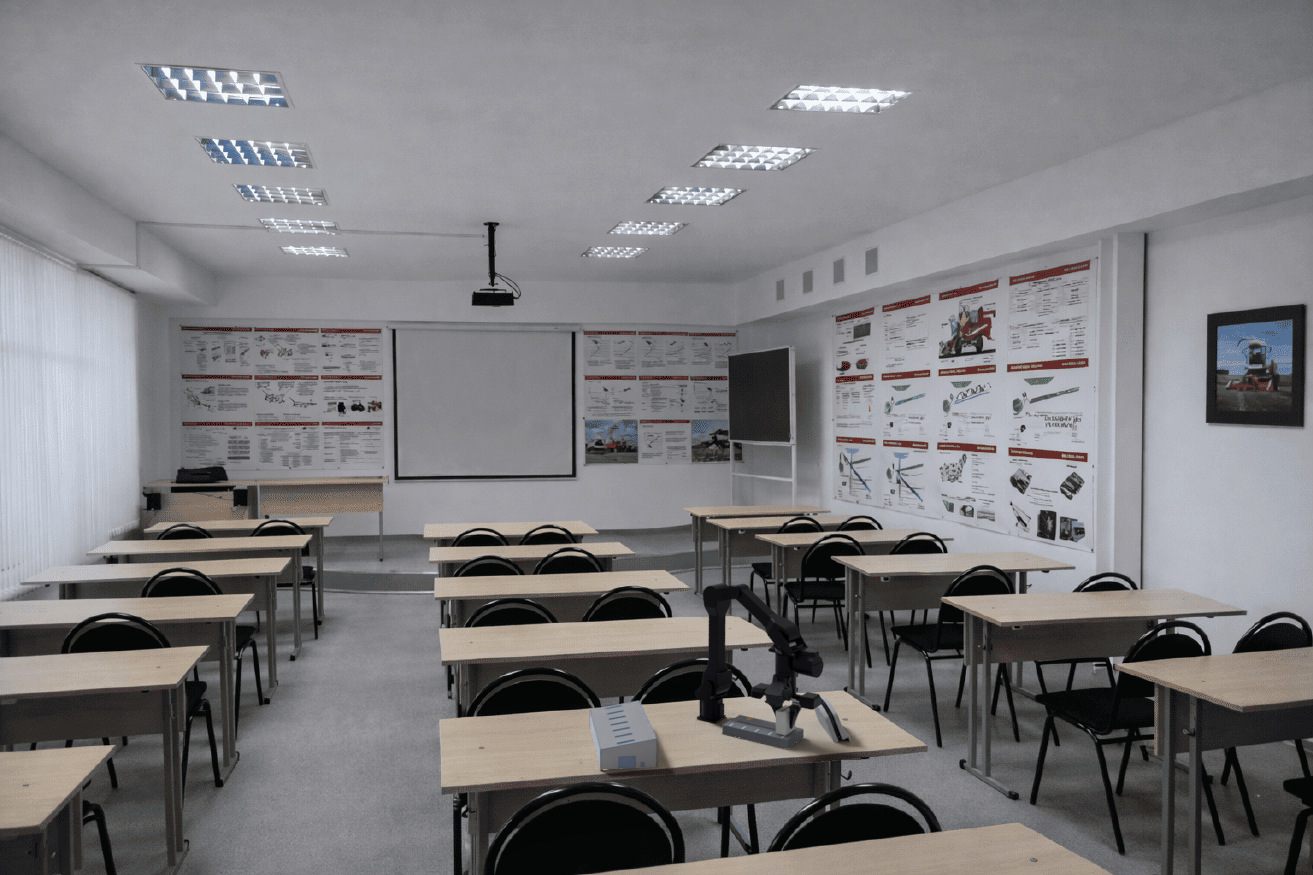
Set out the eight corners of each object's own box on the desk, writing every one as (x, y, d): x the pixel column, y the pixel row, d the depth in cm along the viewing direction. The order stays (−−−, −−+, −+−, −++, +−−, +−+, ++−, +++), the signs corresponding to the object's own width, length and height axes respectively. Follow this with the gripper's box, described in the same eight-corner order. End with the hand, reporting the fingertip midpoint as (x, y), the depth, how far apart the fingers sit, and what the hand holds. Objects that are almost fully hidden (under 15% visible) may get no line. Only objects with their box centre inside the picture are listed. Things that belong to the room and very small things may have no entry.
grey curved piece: (852, 741, 227) (840, 707, 226) (836, 748, 226) (824, 714, 226) (835, 720, 243) (823, 688, 243) (820, 726, 243) (808, 694, 243)
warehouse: (589, 729, 238) (589, 703, 237) (639, 726, 240) (639, 700, 240) (600, 772, 208) (600, 741, 208) (657, 768, 210) (657, 738, 210)
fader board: (722, 733, 233) (722, 724, 233) (739, 723, 241) (739, 714, 241) (787, 749, 222) (787, 739, 222) (803, 737, 230) (803, 728, 230)
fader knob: (775, 733, 226) (775, 710, 226) (785, 726, 231) (785, 704, 231) (785, 735, 224) (785, 712, 224) (795, 728, 229) (795, 706, 229)
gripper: (741, 671, 226) (741, 728, 226) (804, 683, 215) (804, 743, 215) (760, 662, 235) (760, 717, 235) (822, 673, 224) (822, 730, 225)
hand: (785, 727), depth 227 cm, fingers closed on fader knob, 3 cm apart
